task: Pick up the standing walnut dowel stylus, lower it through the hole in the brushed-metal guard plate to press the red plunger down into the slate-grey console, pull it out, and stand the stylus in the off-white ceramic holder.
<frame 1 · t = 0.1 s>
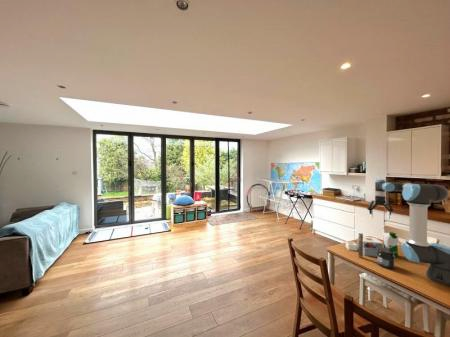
hand: (379, 217, 176), 28 cm above the table, fingers open, 13 cm apart
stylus: (360, 257, 156), on the table
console: (369, 252, 166), on the table
plunger: (369, 245, 165), point 6 cm above the table, slide at 0.0 cm
supplement container: (385, 266, 143), on the table
milk carton: (390, 255, 161), on the table
holder: (351, 248, 173), on the table
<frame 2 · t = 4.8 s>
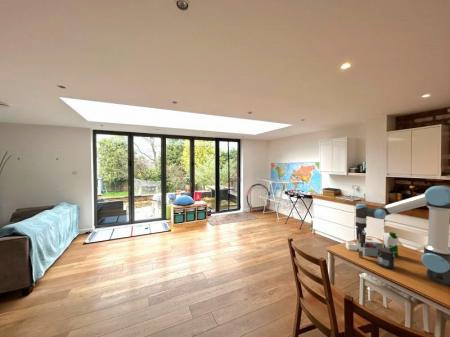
hand: (360, 249, 156), 7 cm above the table, fingers closed on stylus, 3 cm apart
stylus: (360, 257, 156), on the table, touching gripper
everything else where it was.
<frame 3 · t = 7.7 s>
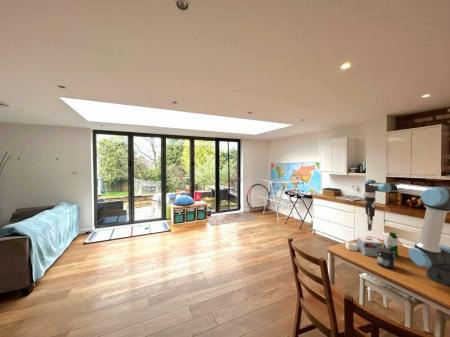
hand: (369, 223, 165), 26 cm above the table, fingers closed on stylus, 3 cm apart
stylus: (369, 230, 165), point 20 cm above the table, touching gripper
everything else where it was.
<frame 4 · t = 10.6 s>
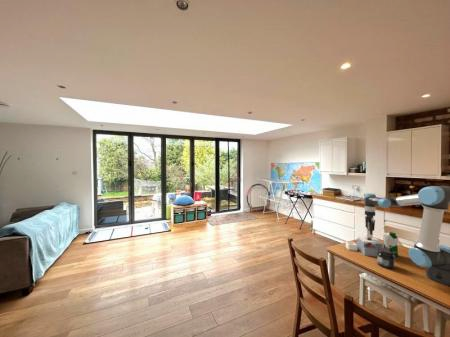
hand: (369, 236, 165), 14 cm above the table, fingers closed on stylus, 3 cm apart
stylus: (369, 244, 166), point 7 cm above the table, touching gripper, plunger
plunger: (369, 247, 166), point 4 cm above the table, slide at 2.5 cm, touching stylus
everything else where it was.
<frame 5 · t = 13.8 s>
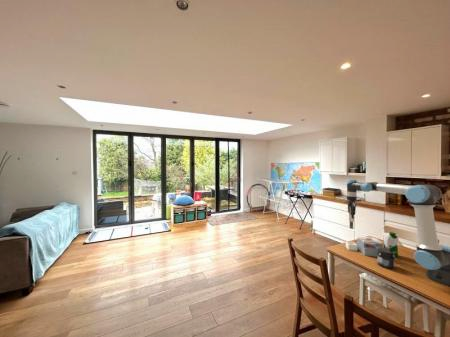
hand: (351, 221, 173), 26 cm above the table, fingers closed on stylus, 3 cm apart
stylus: (351, 228, 173), point 19 cm above the table, touching gripper
plunger: (369, 247, 166), point 4 cm above the table, slide at 2.5 cm, touching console
everything else where it was.
when the fingers open (9 cm above the table, at t = 17.0 s): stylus drops 2 cm, resting in holder.
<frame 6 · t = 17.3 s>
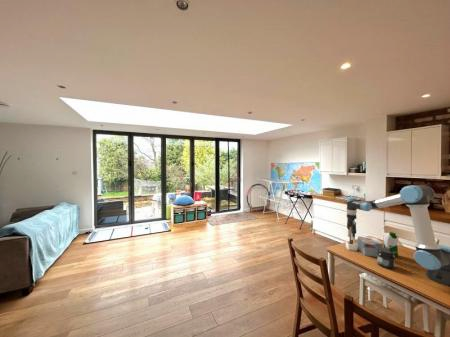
hand: (351, 238, 173), 10 cm above the table, fingers open, 8 cm apart
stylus: (351, 248, 173), resting in holder
everything else where it was.
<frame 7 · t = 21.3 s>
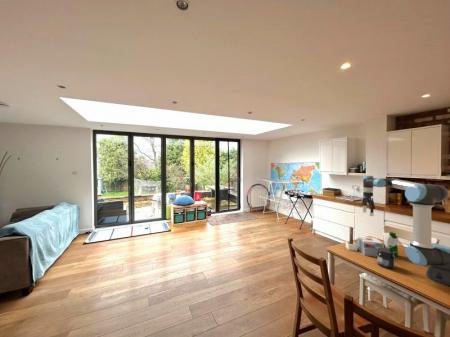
hand: (367, 214, 175), 32 cm above the table, fingers open, 13 cm apart
nothing on the table moved.
at the end: plunger slide at 2.5 cm; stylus 0.0 cm off-centre on the holder, point 0.0 cm above the holder's base; the gripper is holding nothing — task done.
